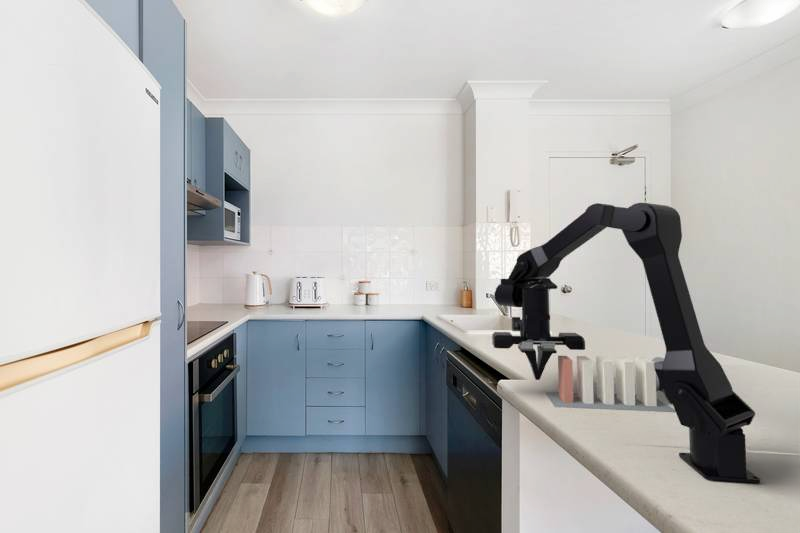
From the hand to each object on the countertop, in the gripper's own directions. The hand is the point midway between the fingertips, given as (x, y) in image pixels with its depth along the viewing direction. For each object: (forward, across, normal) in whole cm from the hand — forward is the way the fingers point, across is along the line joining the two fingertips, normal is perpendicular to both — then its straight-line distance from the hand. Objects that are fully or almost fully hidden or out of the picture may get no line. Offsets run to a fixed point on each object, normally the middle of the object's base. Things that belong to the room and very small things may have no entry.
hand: (537, 379), depth 79 cm
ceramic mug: (+5, -33, -10) cm, 34 cm away
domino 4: (+4, -18, 0) cm, 18 cm away
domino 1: (+4, -6, 0) cm, 7 cm away
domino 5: (+4, -22, 0) cm, 22 cm away
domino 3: (+4, -14, 0) cm, 14 cm away
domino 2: (+4, -10, 0) cm, 11 cm away
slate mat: (+4, -14, 0) cm, 15 cm away
